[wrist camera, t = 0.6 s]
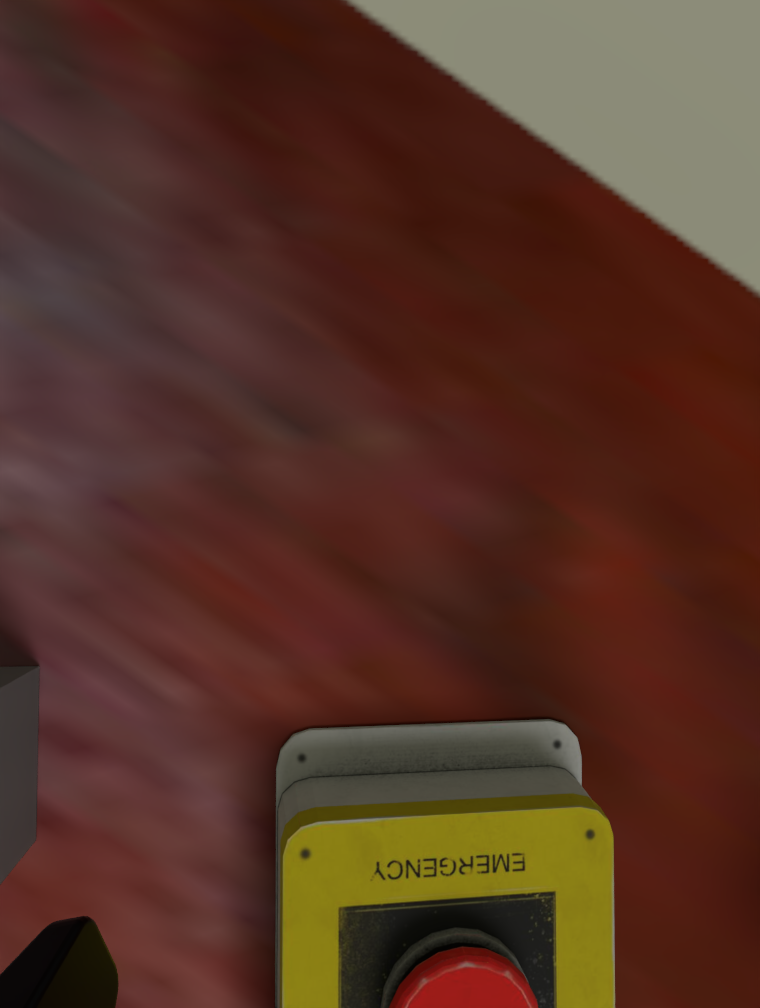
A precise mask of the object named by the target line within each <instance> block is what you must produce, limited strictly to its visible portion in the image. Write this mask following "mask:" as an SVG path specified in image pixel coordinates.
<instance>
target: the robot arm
mask: <svg viewBox="0 0 760 1008" xmlns="http://www.w3.org/2000/svg"><path fill="white" fill-rule="evenodd" d="M117 994H118V973H117V969H116V966H115V963H114V961H113V959H112V957H111V955H110V953H109V950H108V948H107V946H106V944H105V942H104V940H103V938H102V936H101V933H100V931H99V929H98V927H97V925H96V923H95V922H94V920H92V919H91V918H90V917H88V916H81V917H75V918H70V919H65V920H59V921H55V922H53V923H51V924H49V925H48V926H47V927H46V928H45V929H44V930H42V931H41V933H40V934H39V935H38V936H37V937H36V938H35V939H34V940H33V941H32V942H31V943H30V944H29V945H28V946H27V947H26V948H25V949H24V950H23V951H22V952H21V953H20V955H19V956H18V957H17V958H16V959H15V960H14V961H13V962H12V963H11V964H10V965H9V966H8V967H7V968H6V969H5V970H4V971H3V972H2V973H1V974H0V1008H115V1006H116V1000H117Z"/></svg>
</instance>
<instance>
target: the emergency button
mask: <svg viewBox="0 0 760 1008" xmlns="http://www.w3.org/2000/svg"><path fill="white" fill-rule="evenodd" d="M275 1008H615V954H614V852H613V833H612V830H611V826H610V823H609V820H608V819H607V817H606V816H605V814H604V812H603V811H602V809H601V808H600V806H598V805H597V804H596V803H595V802H594V801H593V800H592V799H591V798H590V796H589V795H588V794H587V792H586V791H585V790H584V789H583V787H582V763H581V752H580V748H579V743H578V739H577V737H576V736H575V735H574V734H573V732H572V731H571V730H570V729H569V728H568V727H567V725H565V724H564V723H561V722H557V721H554V720H550V719H543V720H517V721H492V722H466V723H440V724H415V725H389V726H364V727H338V728H312V729H307V730H304V731H301V732H298V733H295V734H293V735H292V736H291V737H290V738H289V739H288V741H287V742H286V743H285V744H284V745H283V747H282V748H281V750H280V754H279V758H278V763H277V767H276V934H275Z"/></svg>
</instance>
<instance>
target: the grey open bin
mask: <svg viewBox="0 0 760 1008" xmlns="http://www.w3.org/2000/svg"><path fill="white" fill-rule="evenodd" d="M38 715H39V666H18V667H0V884H1V883H2V882H3V881H4V879H5V878H6V877H7V876H8V874H9V873H10V872H11V871H12V869H13V868H14V867H15V866H16V864H17V863H18V862H19V861H20V859H21V858H22V857H23V856H24V854H25V853H26V852H27V851H28V849H29V848H30V847H31V846H32V844H33V843H34V842H35V841H36V816H37V765H38Z"/></svg>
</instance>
